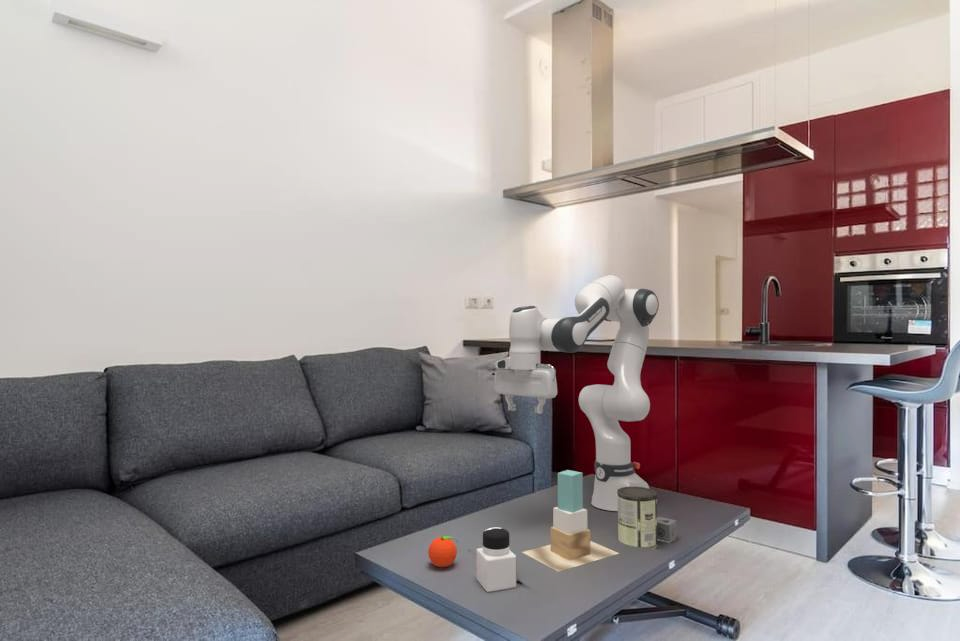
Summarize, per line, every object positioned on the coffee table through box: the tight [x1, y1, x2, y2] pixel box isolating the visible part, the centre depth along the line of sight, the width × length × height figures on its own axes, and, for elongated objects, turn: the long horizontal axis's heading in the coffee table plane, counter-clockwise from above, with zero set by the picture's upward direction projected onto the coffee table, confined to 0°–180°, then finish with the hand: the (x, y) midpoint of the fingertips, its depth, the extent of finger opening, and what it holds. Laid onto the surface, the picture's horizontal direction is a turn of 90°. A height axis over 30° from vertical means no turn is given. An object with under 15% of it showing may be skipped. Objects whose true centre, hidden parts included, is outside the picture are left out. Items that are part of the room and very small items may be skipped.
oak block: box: [550, 526, 591, 560], centre depth 144 cm, size 7×7×6 cm
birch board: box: [521, 540, 620, 573], centre depth 143 cm, size 20×14×1 cm
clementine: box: [427, 535, 458, 568], centre depth 139 cm, size 8×7×7 cm
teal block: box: [557, 469, 584, 513], centre depth 144 cm, size 4×4×9 cm
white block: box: [552, 506, 588, 535], centre depth 144 cm, size 6×6×5 cm
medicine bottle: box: [476, 527, 517, 593], centre depth 129 cm, size 7×7×12 cm
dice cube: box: [657, 516, 678, 542], centre depth 156 cm, size 5×5×5 cm
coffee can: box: [617, 487, 658, 549], centre depth 152 cm, size 10×10×14 cm
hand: (525, 411), depth 161 cm, fingers open, 8 cm apart
